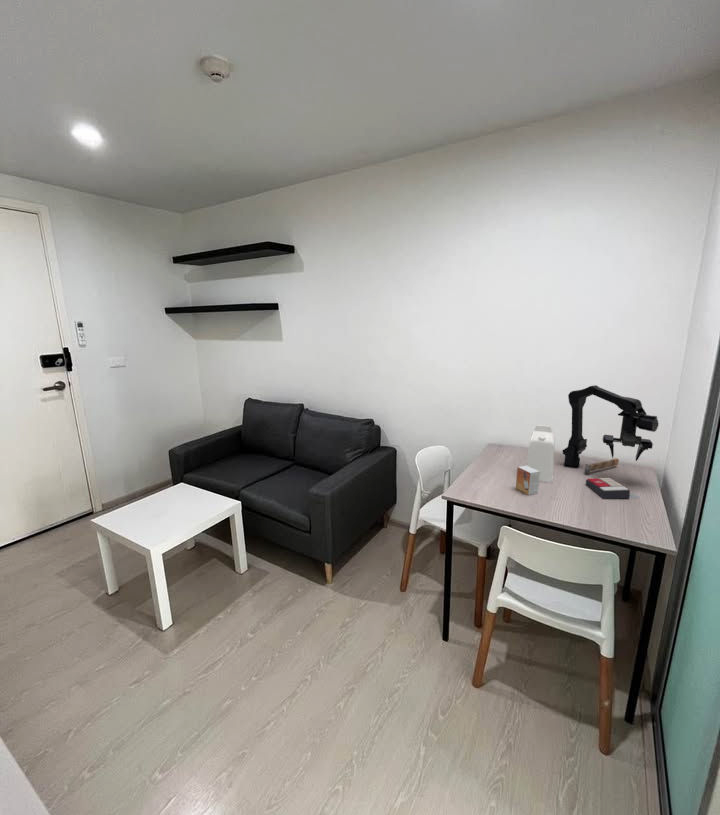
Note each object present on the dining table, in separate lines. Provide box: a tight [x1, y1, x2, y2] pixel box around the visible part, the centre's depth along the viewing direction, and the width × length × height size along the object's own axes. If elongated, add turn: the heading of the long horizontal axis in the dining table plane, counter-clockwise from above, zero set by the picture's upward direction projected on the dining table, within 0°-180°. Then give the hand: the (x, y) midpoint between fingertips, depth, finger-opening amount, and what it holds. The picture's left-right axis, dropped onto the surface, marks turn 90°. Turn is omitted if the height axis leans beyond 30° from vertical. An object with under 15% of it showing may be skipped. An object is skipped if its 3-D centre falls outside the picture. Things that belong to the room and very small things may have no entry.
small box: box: [515, 465, 540, 496], centre depth 178 cm, size 8×6×10 cm
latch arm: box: [584, 458, 620, 476], centre depth 199 cm, size 23×2×5 cm, turn 114°
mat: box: [629, 494, 640, 499], centre depth 177 cm, size 9×13×1 cm
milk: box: [526, 424, 556, 484], centre depth 192 cm, size 12×12×26 cm
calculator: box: [585, 477, 631, 500], centre depth 176 cm, size 11×4×15 cm
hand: (624, 459), depth 185 cm, fingers open, 9 cm apart
